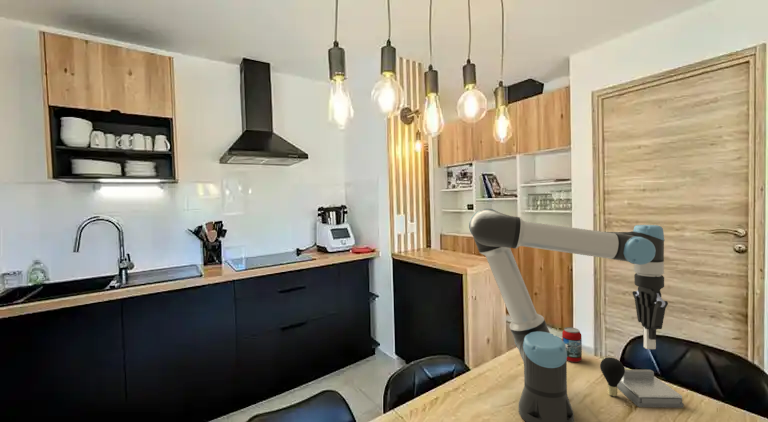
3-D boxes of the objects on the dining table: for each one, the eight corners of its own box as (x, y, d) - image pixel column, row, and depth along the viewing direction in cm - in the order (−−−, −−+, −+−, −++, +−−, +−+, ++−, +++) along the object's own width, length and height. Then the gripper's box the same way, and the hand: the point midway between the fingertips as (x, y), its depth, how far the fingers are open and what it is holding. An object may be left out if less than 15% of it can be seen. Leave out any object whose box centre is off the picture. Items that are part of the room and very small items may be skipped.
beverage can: (564, 362, 138) (564, 332, 138) (561, 355, 145) (560, 326, 144) (583, 364, 136) (583, 333, 136) (579, 356, 143) (579, 327, 142)
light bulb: (629, 401, 111) (629, 363, 110) (606, 400, 112) (606, 363, 111) (618, 390, 117) (618, 354, 117) (596, 389, 118) (596, 354, 118)
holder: (638, 407, 108) (638, 398, 108) (604, 377, 126) (604, 369, 126) (683, 407, 107) (683, 398, 107) (642, 377, 125) (642, 369, 125)
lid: (638, 397, 108) (638, 387, 108) (615, 377, 120) (615, 368, 120) (682, 397, 107) (682, 387, 107) (654, 378, 119) (654, 368, 119)
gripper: (677, 278, 104) (677, 357, 105) (647, 269, 117) (648, 340, 118) (650, 278, 105) (651, 357, 106) (623, 270, 118) (624, 340, 119)
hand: (649, 348), depth 112 cm, fingers closed
